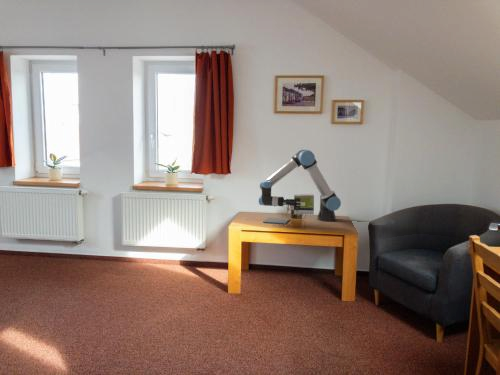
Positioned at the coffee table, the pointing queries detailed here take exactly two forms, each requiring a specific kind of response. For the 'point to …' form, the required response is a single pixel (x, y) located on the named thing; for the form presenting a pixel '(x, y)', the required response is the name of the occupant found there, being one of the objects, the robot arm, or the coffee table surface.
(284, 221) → the rubber mat
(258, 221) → the coffee table surface
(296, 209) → the tea box
